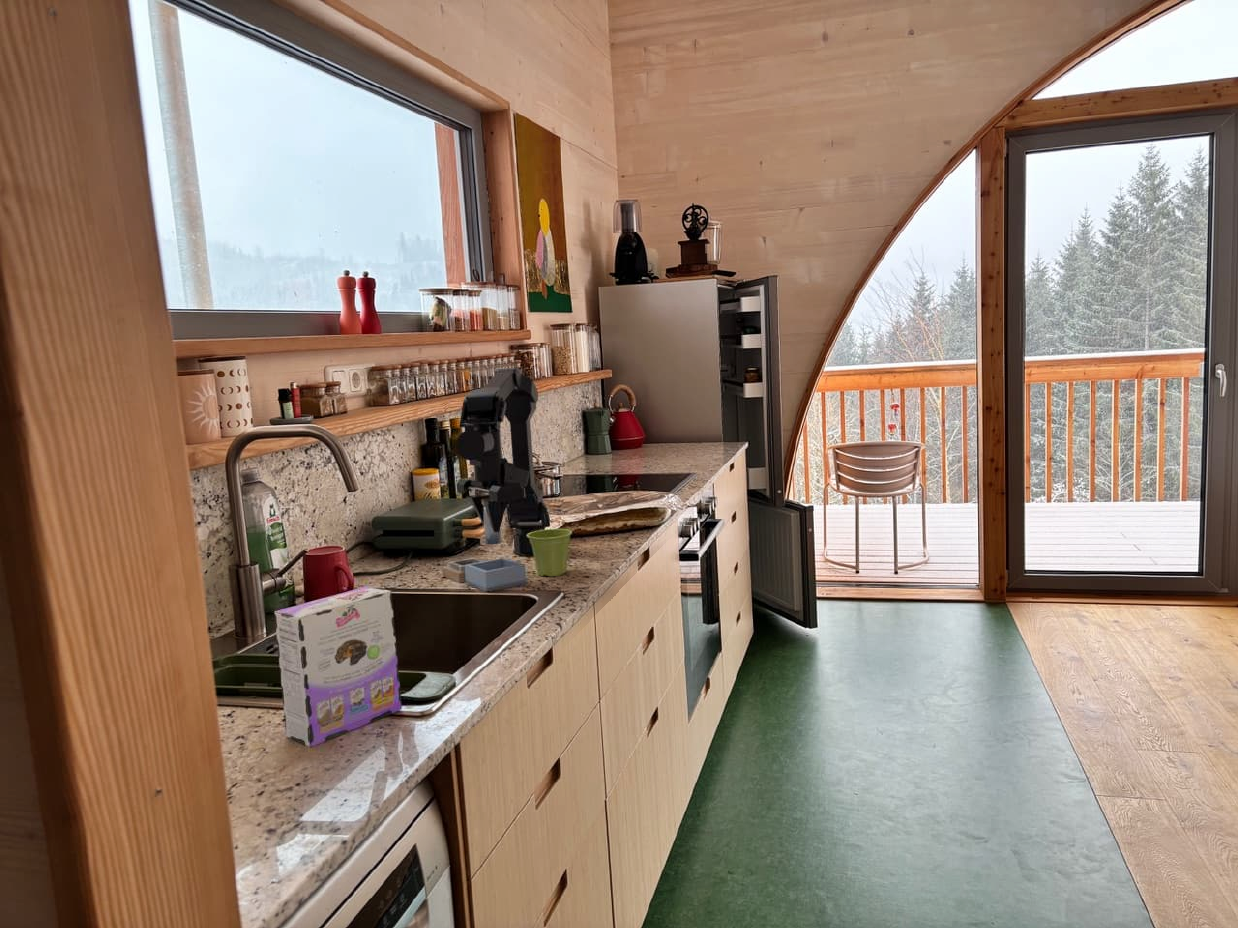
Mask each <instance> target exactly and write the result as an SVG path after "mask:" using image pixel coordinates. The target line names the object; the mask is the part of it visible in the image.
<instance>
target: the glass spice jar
mask: <svg viewBox="0 0 1238 928" xmlns="http://www.w3.org/2000/svg"><path fill="white" fill-rule="evenodd" d="M486 499H490V498H484V499H481V502H482V505H483V517H484V525H483V529H484V530H483V531H484V544H485V545H489V546H490V545H498V544H501V543H502V535H501V534H502V533H501V530H500V531H499V532H494V531H493V528H492V526H491V523H490V520H489V518H488V515H487V512H486V509H485V506H484V504H483V501H482V500H486Z"/></svg>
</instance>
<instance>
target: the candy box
mask: <svg viewBox="0 0 1238 928" xmlns="http://www.w3.org/2000/svg"><path fill="white" fill-rule="evenodd" d="M392 597H393V596H392V590H388V589H384V588H377V587H373V586H368V585H366V586H362V587H358V588H355V589H353V590H348V591H345V592H342V593H337V594H335V595H334V594H333V595H330V596H327V597H323V598H319V599H316V600H312V601H309V602H305V603H302V604H297V605H294V606H290V607H286V608H281V609H279V610H274V622H275V633H276V643H277V652H278V655H277V656H278V663H279V664H278V665H279V675H280V685H281V693H282V704H283V705H282V706H283V716H284V717H283V718H284V726H285V727H284V728H285V736H286V737H288V738H289V739H291V740H293V741H295V742H298V743H300V744H302V745H304V746H306V747H309V748H310V747H315V746H317V745H320V744H322V743H325V742H327V741H329V740H331V739H334V738H336V737H339V736H341V735H344V734H346V733H348V732H350V731H353V730H355V729H358V728H361V727H363V726H365V725H367V724H370V723H372V722H375V721H377V720H379V719H382V718H384V717H387V716H389V715H392V714H394V713H396V712H399V711H400V710H402V708H403V704H402V694H401V693H402V692H401V684H400V683H401V682H400V672H399V663H398V651H397V650H398V649H397V644H396V643H397V640H396V630H395V629H396V628H395V619H394V617H395V616H394V609H393V608H394V607H393V606H394V605H393V598H392Z"/></svg>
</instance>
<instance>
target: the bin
mask: <svg viewBox="0 0 1238 928" xmlns="http://www.w3.org/2000/svg"><path fill="white" fill-rule="evenodd" d="M482 561H483V562H478V563H472V564H467V565H465V576H466V582H465V584H466V585H468V586H469V587H473V588H475V589H478V590H481V591H482V590H483V591H482V592H485V591H490V592H493V590H494V591H498V590H499V591H500V590H502V589H503V590H504V589H508V588H513V587H517V586H518V587H519V586H522V585H526V584H527V574H526V573H527V571H526V563H525V564H524V563H522V562H520V561H515V560H512V559H509V558H507V557H500V558H499V557H498V558H494V559H489V560H488V559H487V560H482Z"/></svg>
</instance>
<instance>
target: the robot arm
mask: <svg viewBox="0 0 1238 928" xmlns="http://www.w3.org/2000/svg"><path fill="white" fill-rule="evenodd" d="M538 394H539V393H538V388H537V386H536V384H535V382H534V381H533V379H532V378H530V377H528V376H526V375H524V374H523V373H522V372H521V371H520V370H519V368H518V369H517V368H515V367H513V368H512V367H511V368H499V369H498V370H497V369H496V370H495V372H494V375H493V376H492V378H491V379H490V380H488V382H487V383H486V384H485V385H484V387H482V388H478V389H472V390H471V391H468V392H467V394H466V395H465V397H464V398H463V401H462V402H463V403H462V408H461V413H460V419H459V427H460V428H464V431H463V432H462V433H460V434H459V436H458V437H457V438H456V442H455V450H456V451H457V454H458V455H459V456H460V457H461V458H462V459H465V460H467V461H469V465H470V466H473V473H474V476H472V477H471V476H470V477H464V478H459V480H458V481H457V482H456V484H455V485H456V493H457V494H463V495H464V494H466V492H469V495H466V499H467V500H468V501H469V502H470V504H471V506H472V508H473V510H474V511H475V513H476V514H477V516H478V518H479V520H480V521H481V524H482V525H483V526H484V517H483V505H482V502H481V499H484V498H490V499H486V500H482V501H483V504H484V506H485V509H486V512H487V515H488V518H489V520H490V523H491V526H492V528H493V531H494V532H499V531H501V528H502V523H503V519H504V514H505V511H506V515H507V520H508V525H509V529H511V530H512V529H514V535H513V545H514V546H513V547H514V548H513V549H514V550H512V553H513V554H516V555H520V556H522V557H532V556H534V554H533V549H532V545H531V544H530V540H529V538H528V537H527V534H528V533H530V532H534V531H538V530H545V529H546V528H550V527H551V519H550V518H551V517H550V513H549V510H548V508H547V505H546V503H545V502H544V499H543V492H542V491H541V490H540V489H539V487H538V486H537V484H536V483H535V475H534V474H535V473H534V472H535V471H534V458H533V443H532V431H531V429H532V428H531V419H532V417H533V415H534V413H535V412H536V410H537V402H538V399H539V395H538ZM505 418H506V420H507V421H508V423H509V427H510V441H511V452H512V453H511V457H512V462H510V461H509V460H508V459H507V458H506V457H503V453H502V452H503V451H502V437H501V436H502V435H501V428H502V425H501V423H502V422H504V419H505ZM508 461H509V462H508Z"/></svg>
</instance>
